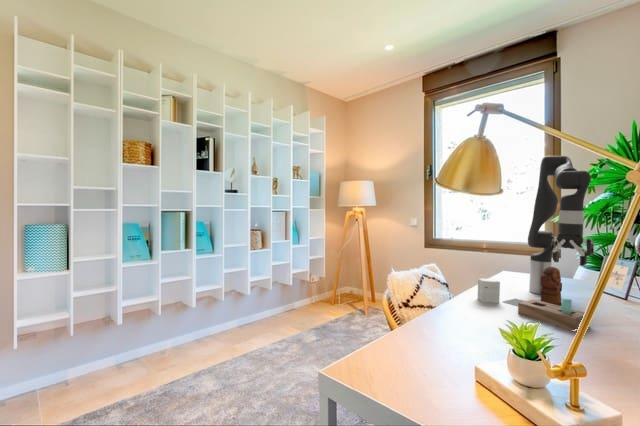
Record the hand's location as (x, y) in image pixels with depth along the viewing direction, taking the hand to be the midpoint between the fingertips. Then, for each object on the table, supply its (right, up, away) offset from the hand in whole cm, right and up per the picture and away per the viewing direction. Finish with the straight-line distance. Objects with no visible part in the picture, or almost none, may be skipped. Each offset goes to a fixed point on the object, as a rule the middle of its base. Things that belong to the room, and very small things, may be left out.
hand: (568, 263), depth 122 cm
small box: (-16, -23, +29) cm, 40 cm away
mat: (-3, -23, +25) cm, 34 cm away
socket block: (-3, -24, +5) cm, 24 cm away
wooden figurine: (+11, -24, +25) cm, 36 cm away
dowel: (-1, -24, +1) cm, 24 cm away
